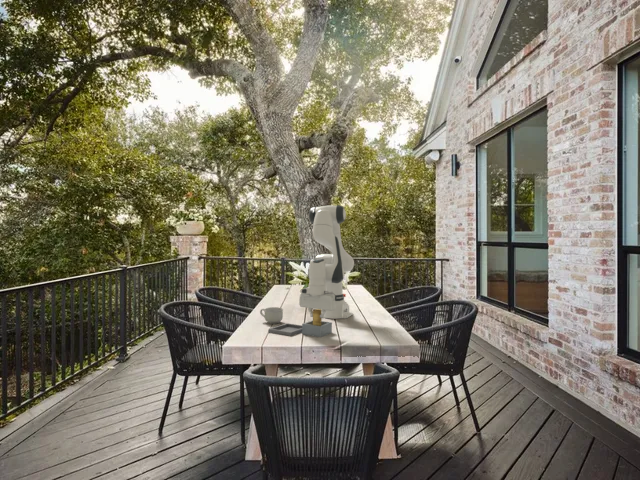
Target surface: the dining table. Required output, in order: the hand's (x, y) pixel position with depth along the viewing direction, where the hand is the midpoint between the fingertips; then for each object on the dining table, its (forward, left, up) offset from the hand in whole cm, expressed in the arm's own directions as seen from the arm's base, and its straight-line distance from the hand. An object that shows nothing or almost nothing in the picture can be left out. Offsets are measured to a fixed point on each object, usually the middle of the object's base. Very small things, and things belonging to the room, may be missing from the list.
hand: (317, 317), depth 206 cm
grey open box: (0, 0, -9) cm, 9 cm away
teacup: (-10, -38, -9) cm, 40 cm away
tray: (+4, -15, -9) cm, 18 cm away
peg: (0, 0, -8) cm, 8 cm away
